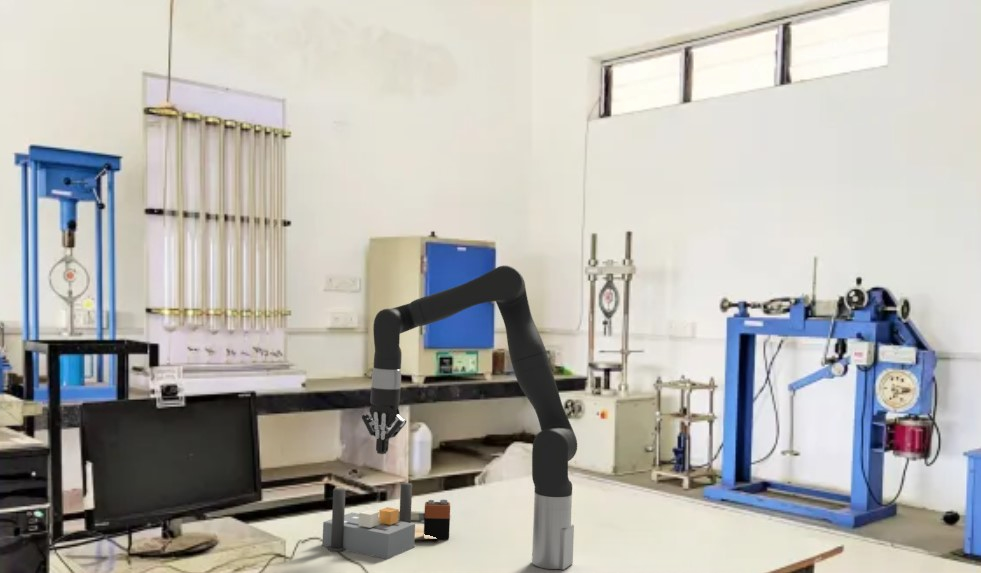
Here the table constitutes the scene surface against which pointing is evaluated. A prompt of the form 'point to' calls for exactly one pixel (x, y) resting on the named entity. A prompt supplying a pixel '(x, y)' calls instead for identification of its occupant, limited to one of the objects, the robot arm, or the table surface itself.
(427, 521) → the battery
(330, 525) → the box
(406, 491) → the post
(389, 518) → the toggle orange
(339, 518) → the post
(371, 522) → the white ridged block
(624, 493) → the table surface
